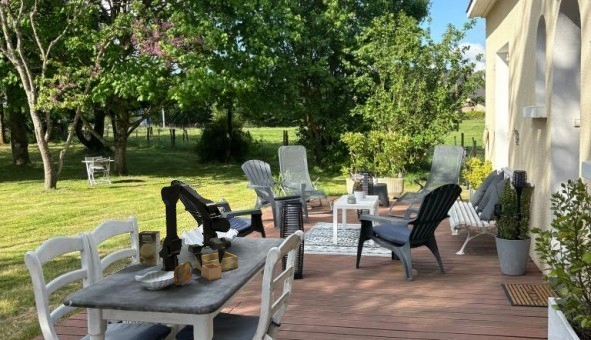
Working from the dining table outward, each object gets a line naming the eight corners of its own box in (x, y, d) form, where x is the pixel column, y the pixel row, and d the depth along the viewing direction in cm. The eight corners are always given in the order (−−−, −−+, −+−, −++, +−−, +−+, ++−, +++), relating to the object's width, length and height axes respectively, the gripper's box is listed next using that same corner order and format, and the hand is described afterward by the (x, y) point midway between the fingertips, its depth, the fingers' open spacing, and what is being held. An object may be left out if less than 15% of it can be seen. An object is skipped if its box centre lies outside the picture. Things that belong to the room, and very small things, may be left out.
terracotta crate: (209, 280, 241) (208, 269, 240) (201, 276, 247) (201, 265, 247) (221, 278, 244) (221, 266, 244) (213, 274, 251) (213, 263, 250)
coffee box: (139, 265, 270) (137, 233, 268) (143, 262, 276) (142, 230, 275) (157, 265, 269) (155, 233, 267) (161, 262, 275) (160, 230, 274)
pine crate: (207, 273, 252) (206, 261, 251) (195, 268, 262) (194, 256, 262) (238, 267, 261) (237, 256, 260) (225, 262, 271) (225, 251, 271)
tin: (180, 288, 231) (179, 268, 230) (173, 287, 232) (172, 268, 231) (193, 277, 246) (192, 259, 245) (187, 277, 247) (186, 259, 246)
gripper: (197, 236, 232) (199, 272, 233) (236, 230, 243) (238, 265, 244) (186, 232, 241) (188, 267, 243) (225, 226, 252) (226, 260, 253)
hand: (210, 265), depth 245 cm, fingers open, 9 cm apart
